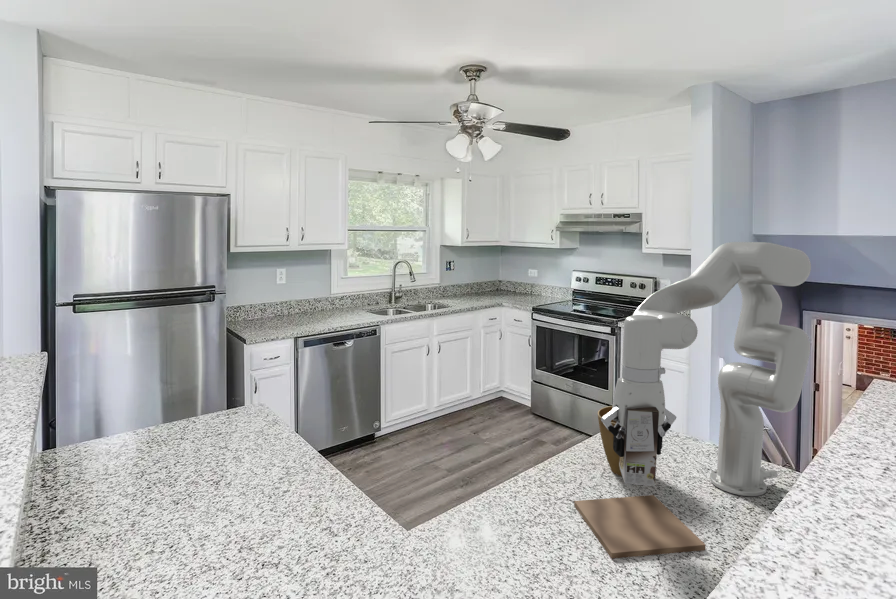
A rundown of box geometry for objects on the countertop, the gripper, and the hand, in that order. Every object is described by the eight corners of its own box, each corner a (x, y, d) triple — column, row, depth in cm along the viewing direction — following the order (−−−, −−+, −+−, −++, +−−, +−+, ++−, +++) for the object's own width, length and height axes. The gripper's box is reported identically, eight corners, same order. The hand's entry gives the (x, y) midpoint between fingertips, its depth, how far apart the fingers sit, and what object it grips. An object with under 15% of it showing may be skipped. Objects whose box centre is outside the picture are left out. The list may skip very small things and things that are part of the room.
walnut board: (653, 499, 122) (653, 494, 122) (705, 550, 102) (705, 544, 102) (574, 505, 119) (574, 500, 119) (611, 558, 100) (611, 553, 100)
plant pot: (595, 456, 146) (597, 403, 144) (650, 462, 142) (653, 407, 140) (596, 480, 132) (598, 421, 130) (657, 487, 128) (660, 427, 126)
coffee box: (656, 487, 104) (660, 411, 102) (623, 484, 105) (626, 409, 103) (648, 467, 113) (651, 397, 111) (618, 465, 114) (620, 396, 112)
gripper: (669, 367, 111) (665, 444, 113) (594, 370, 109) (591, 448, 111) (689, 377, 104) (685, 458, 106) (609, 380, 102) (606, 463, 104)
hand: (637, 452), depth 109 cm, fingers closed on coffee box, 7 cm apart
